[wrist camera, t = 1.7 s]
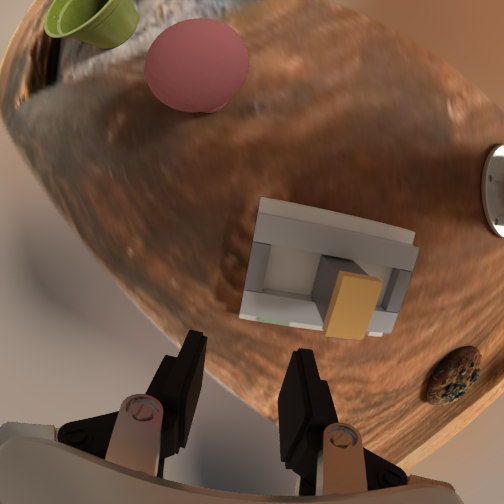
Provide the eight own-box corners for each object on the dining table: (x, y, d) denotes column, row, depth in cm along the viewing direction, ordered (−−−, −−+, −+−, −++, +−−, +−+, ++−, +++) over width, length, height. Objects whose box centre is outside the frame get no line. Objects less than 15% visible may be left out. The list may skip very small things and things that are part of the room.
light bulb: (264, 80, 23) (267, 16, 12) (232, 142, 25) (209, 113, 13) (200, 57, 23) (164, -7, 11) (167, 117, 24) (108, 81, 13)
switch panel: (408, 229, 26) (422, 235, 23) (377, 330, 29) (386, 343, 26) (260, 196, 26) (260, 198, 23) (239, 311, 29) (237, 325, 26)
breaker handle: (353, 256, 25) (383, 282, 18) (340, 302, 27) (363, 340, 20) (322, 250, 25) (343, 275, 18) (310, 297, 27) (324, 336, 20)
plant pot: (168, 21, 21) (140, -20, 13) (103, 76, 23) (58, 52, 15) (131, -10, 20) (103, -44, 11) (74, 39, 21) (35, 16, 13)
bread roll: (453, 337, 30) (473, 357, 25) (483, 345, 32) (499, 362, 27) (410, 396, 33) (424, 418, 28) (445, 395, 35) (458, 413, 30)
